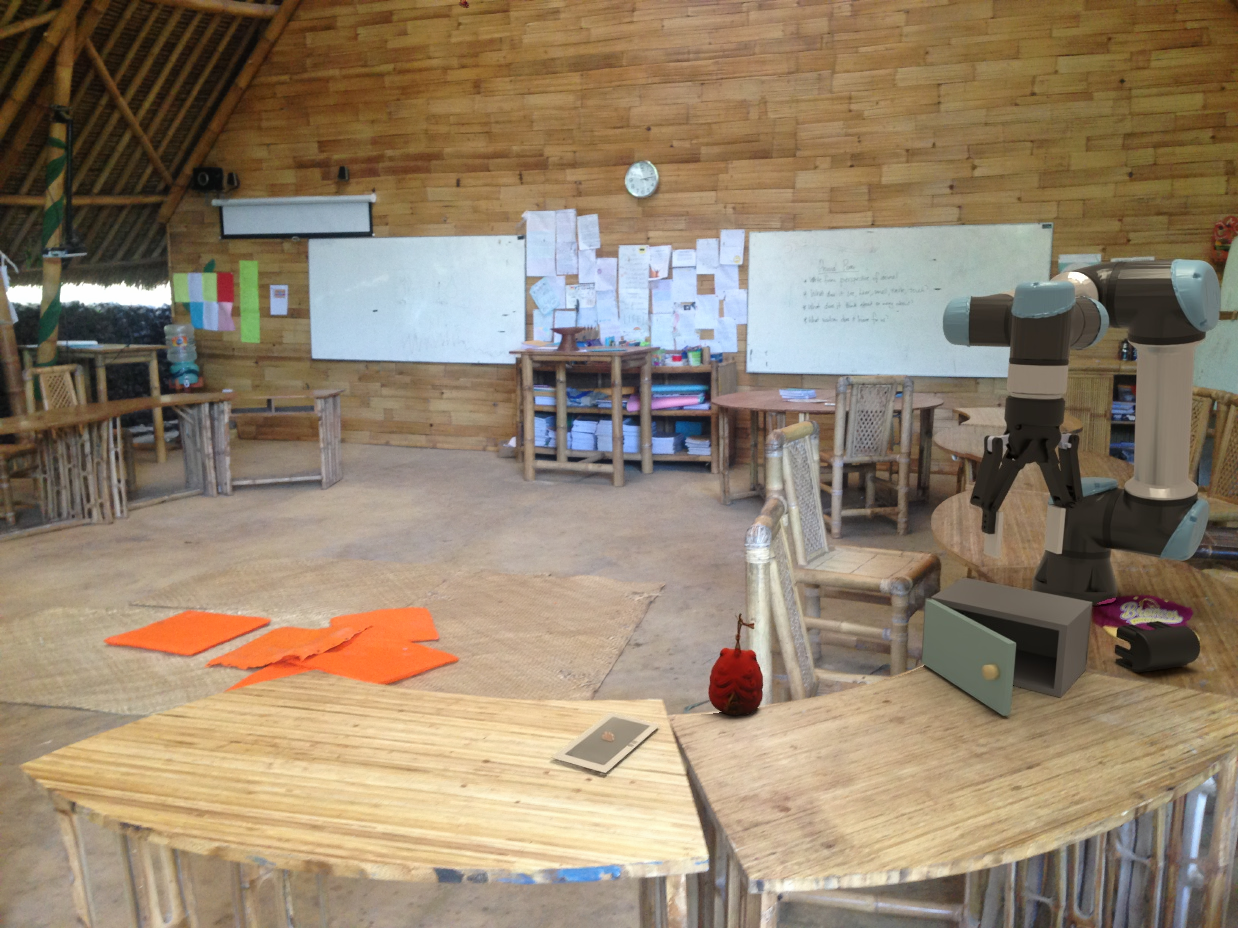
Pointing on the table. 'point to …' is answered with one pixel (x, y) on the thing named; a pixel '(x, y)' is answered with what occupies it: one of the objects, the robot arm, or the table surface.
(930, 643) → the pale green rectangular block
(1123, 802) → the table surface
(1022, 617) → the cabinet
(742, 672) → the red clay folk toy
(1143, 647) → the end cap
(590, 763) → the touchpad
